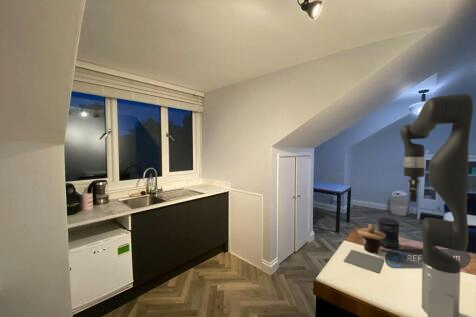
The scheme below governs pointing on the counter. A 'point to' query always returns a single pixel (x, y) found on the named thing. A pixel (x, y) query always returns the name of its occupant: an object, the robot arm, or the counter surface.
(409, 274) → the counter surface
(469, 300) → the counter surface
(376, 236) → the lid
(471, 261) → the counter surface
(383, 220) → the storage jar
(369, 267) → the mat
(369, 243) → the coffee mug
